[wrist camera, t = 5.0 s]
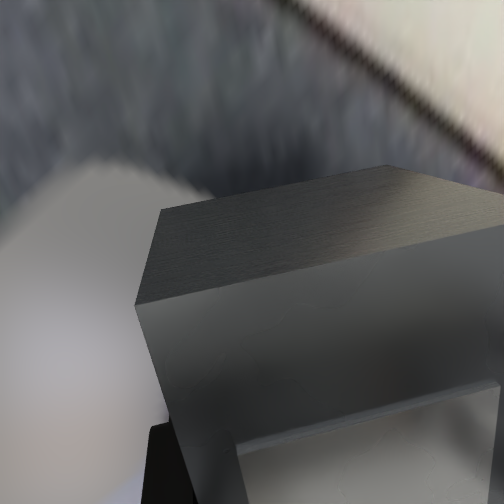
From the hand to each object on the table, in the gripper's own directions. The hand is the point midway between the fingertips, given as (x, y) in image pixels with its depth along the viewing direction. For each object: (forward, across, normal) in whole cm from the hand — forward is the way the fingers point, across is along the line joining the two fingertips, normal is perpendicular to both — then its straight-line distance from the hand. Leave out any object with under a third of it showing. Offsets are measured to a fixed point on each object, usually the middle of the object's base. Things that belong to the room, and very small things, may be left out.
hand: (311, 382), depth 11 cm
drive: (+1, 0, 0) cm, 1 cm away
